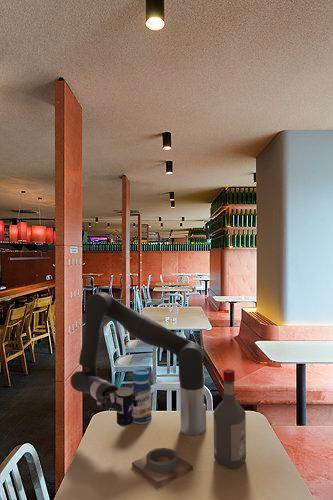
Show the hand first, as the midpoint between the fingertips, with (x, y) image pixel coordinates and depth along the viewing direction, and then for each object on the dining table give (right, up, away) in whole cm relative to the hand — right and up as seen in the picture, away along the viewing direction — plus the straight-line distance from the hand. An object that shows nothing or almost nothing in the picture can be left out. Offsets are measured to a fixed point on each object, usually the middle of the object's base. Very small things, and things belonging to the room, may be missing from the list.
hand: (128, 406), depth 133 cm
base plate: (+11, -18, -6) cm, 22 cm away
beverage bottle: (+3, -17, +29) cm, 34 cm away
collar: (+11, -16, -6) cm, 21 cm away
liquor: (+34, -17, -2) cm, 38 cm away
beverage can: (-1, -7, +2) cm, 8 cm away
